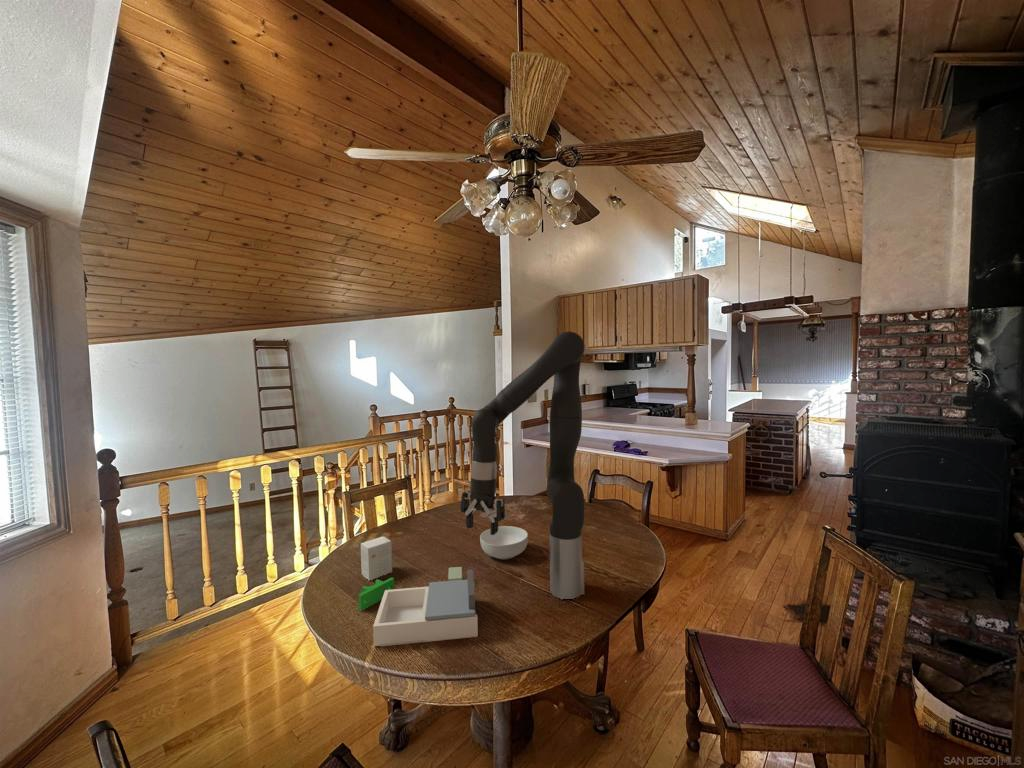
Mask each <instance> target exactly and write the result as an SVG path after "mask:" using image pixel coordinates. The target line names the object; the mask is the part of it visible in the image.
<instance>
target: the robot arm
mask: <svg viewBox="0 0 1024 768" xmlns="http://www.w3.org/2000/svg"><path fill="white" fill-rule="evenodd" d="M584 352H585V342H584V340H583V338H582V336H580V334H578V333H576V332H573V331H569V330H568V331H563V332H561V333H558V334H557V336H555V338H553V341H552V343H550V345H549V346H548V347H547V349H546V350H545V351H544V352H543V353H542V354H541V356H540V357H539V358H537V360H536V361H534V363H532V364H531V365H530V366H529V367H528V368H526V369H525V370H523V372H522V373H520V374H518V376H517V377H515V378H514V379H513V380H511V381H510V383H508V384H507V385H506V386H505V387H504V388H502V389H501V390H500V391H499V392H498V394H497V395H496V397H494V399H492V400H491V401H490V402H489V403H487V404H486V405H485V406H484V407H482V408H480V409H478V410H476V411H475V413H474V414H473V416H472V419H471V434H472V443H473V444H472V445H473V446H472V461H471V469H470V486H469V487H470V488H469V489H470V491H469V490H467V491H464V492H462V493H461V500H460V512H461V513H464V514H465V525H466V528H467V529H471V528H473V527H474V517H475V516H474V512H475V511H481V512H482V513H485V514H486V516H488V518H489V520H490V528H491V531H490V534H491V535H494V534H496V533H497V532H498V527H499V522H501V521H504V520H505V517H506V516H505V515H506V513H505V512H506V509H505V508H506V507H505V505H506V504H505V501H506V500H505V499H504V498H500V499H499V498H496V492H497V475H498V473H497V471H498V468H497V449H498V448H497V447H498V446H497V443H496V428H497V427H498V426H499V425H500V424H502V422H503V421H505V419H507V417H509V415H510V414H513V412H515V411H516V410H518V408H520V407H521V406H522V405H523V404H524V403H525V402H527V401H528V400H529V399H530V398H531V397H532V396H533V395H534V394H535V393H536V392H537V391H538V390H539V389H540V388H541V387H542V386H543V385H544V384H545V383H547V382H548V381H549V380H550V379H551V378H552V377H553V388H552V394H551V399H550V410H549V469H548V474H547V483H546V495H547V498H548V500H549V502H550V503H551V504H552V516H551V517H552V521H550V523H549V589H550V590H549V591H550V594H551V595H552V597H554V598H556V597H557V599H559V598H560V599H559V600H563V599H573V600H575V599H574V598H576V597H578V596H580V595H582V594H584V595H585V562H584V560H583V557H582V556H583V553H582V552H583V551H582V550H583V548H582V547H583V544H582V543H583V541H582V534H583V533H582V531H583V527H584V524H585V495H584V490H583V488H582V487H581V486H580V485H579V484H578V483H577V482H576V480H575V471H574V470H575V469H574V466H575V465H574V464H575V463H574V462H575V457H576V451H577V449H578V446H579V443H580V440H581V436H582V430H583V428H582V427H583V426H582V425H583V408H582V398H581V389H580V370H581V362H582V357H583V355H584ZM470 501H471V503H470ZM580 597H581V596H580ZM578 598H579V597H578ZM576 599H577V598H576Z"/></svg>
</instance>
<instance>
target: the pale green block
mask: <svg viewBox="0 0 1024 768" xmlns="http://www.w3.org/2000/svg"><path fill="white" fill-rule="evenodd" d="M462 569H463V567H462V566H455V567H453V566H452V567H448V575H447V581H454V580H463V571H462Z"/></svg>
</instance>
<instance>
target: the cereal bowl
mask: <svg viewBox="0 0 1024 768" xmlns="http://www.w3.org/2000/svg"><path fill="white" fill-rule="evenodd" d="M490 531H491V527H490V528H489V529H486V530H484V531H482V533H481V534H480V536H479V541H480V547H481V549H482V551H483V553H485V554H486V555H488V556H490V557H492V558H495V559H498V560H510V559H513V558H515V557H516V556H518V555H520V554H522V553H523V552H524V551H525V550H526V548H527V545H528V542H529V535H528V532H527V530H525V529H524V528H521V527H518V526H511V525H509V526H508V525H501V526H498V532H497V533H496V534H494V535H491V534H490Z"/></svg>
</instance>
